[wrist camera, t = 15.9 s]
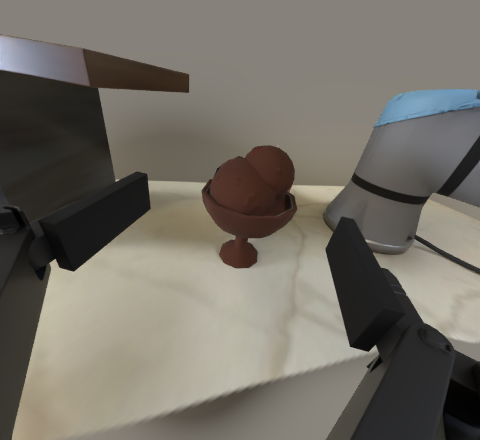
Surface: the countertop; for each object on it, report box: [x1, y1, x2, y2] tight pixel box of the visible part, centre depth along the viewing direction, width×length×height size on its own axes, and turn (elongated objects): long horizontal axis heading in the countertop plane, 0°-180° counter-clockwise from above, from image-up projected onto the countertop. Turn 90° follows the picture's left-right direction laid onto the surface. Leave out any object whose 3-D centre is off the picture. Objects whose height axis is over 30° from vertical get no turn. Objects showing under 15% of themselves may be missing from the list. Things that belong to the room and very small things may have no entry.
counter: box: [0, 34, 189, 223], centre depth 25 cm, size 17×16×20 cm
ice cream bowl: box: [202, 146, 297, 268], centre depth 25 cm, size 11×11×15 cm
